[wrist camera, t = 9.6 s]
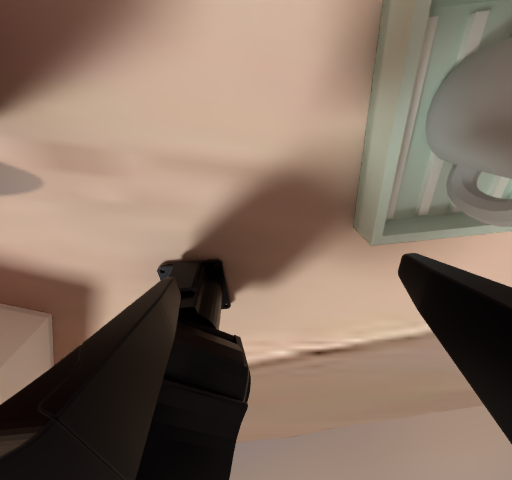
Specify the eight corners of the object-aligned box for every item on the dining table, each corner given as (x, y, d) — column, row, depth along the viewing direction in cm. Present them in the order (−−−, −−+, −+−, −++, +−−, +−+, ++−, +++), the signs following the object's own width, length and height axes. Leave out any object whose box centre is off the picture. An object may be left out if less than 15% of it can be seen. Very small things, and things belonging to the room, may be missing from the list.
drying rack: (495, 212, 22) (536, 228, 19) (353, 226, 22) (370, 245, 19) (605, -24, 14) (706, -62, 11) (383, 1, 14) (421, -29, 11)
